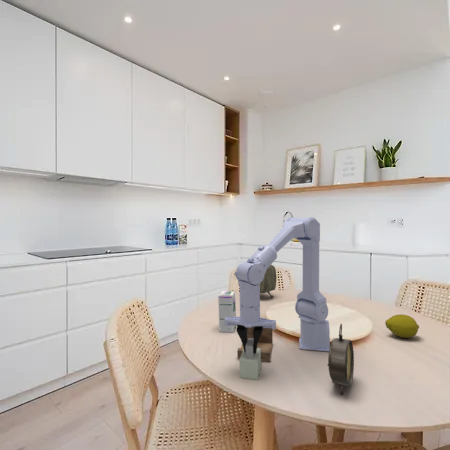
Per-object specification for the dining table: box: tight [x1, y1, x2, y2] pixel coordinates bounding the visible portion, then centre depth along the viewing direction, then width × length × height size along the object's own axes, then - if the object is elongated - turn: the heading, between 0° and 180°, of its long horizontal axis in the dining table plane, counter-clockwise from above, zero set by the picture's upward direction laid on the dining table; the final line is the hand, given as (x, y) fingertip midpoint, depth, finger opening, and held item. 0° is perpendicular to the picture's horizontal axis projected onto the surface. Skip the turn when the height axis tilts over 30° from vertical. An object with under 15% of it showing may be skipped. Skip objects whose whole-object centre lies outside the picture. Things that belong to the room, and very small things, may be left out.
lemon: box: [384, 314, 420, 339], centre depth 105 cm, size 11×8×8 cm
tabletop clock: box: [260, 264, 277, 299], centre depth 155 cm, size 14×9×25 cm, turn 43°
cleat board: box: [237, 327, 274, 363], centre depth 96 cm, size 10×12×7 cm
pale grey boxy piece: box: [239, 338, 262, 380], centre depth 84 cm, size 5×8×8 cm, turn 167°
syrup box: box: [217, 290, 237, 333], centre depth 114 cm, size 6×6×14 cm
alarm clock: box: [327, 323, 355, 396], centre depth 76 cm, size 11×5×16 cm, turn 148°
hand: (250, 351), depth 84 cm, fingers closed on pale grey boxy piece
